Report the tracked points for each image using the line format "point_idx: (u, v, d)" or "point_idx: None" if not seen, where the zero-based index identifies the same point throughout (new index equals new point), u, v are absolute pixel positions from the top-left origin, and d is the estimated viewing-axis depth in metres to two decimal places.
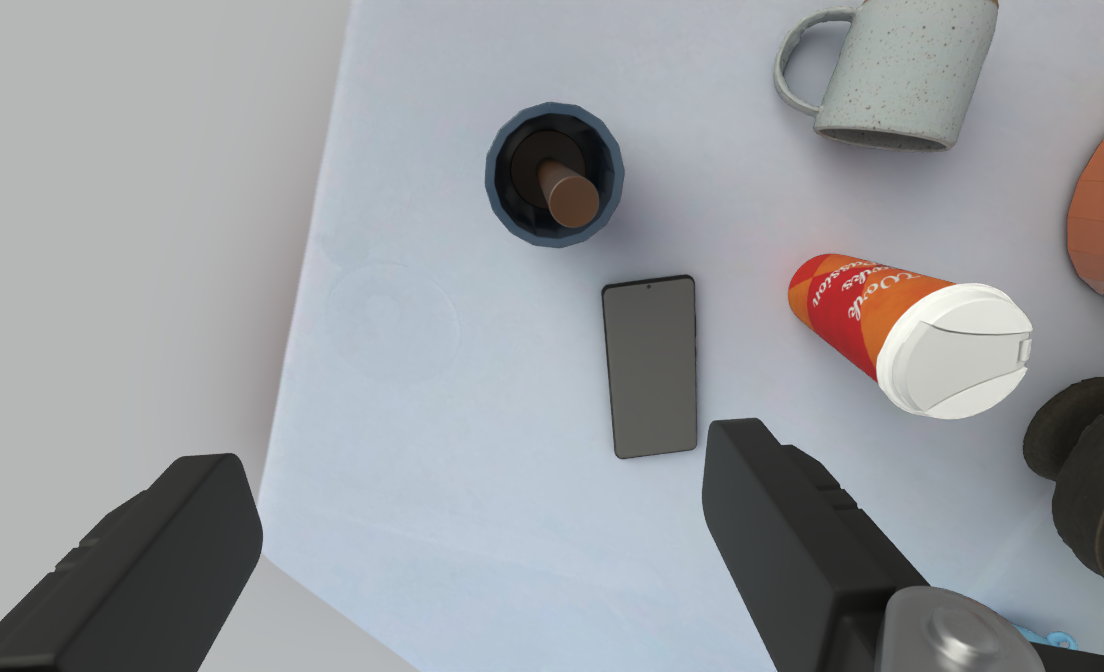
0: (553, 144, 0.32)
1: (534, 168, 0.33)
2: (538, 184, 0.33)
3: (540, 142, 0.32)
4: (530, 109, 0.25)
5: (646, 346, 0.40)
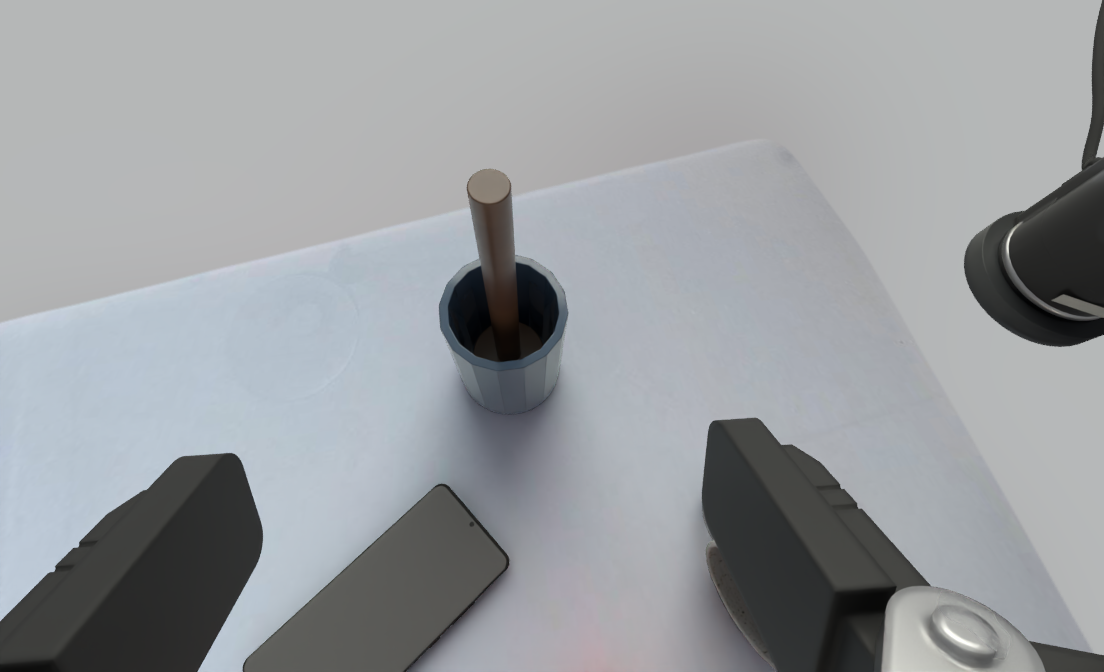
0: (530, 343, 0.36)
1: None
2: (493, 352, 0.35)
3: (524, 334, 0.36)
4: (537, 264, 0.30)
5: (408, 575, 0.32)
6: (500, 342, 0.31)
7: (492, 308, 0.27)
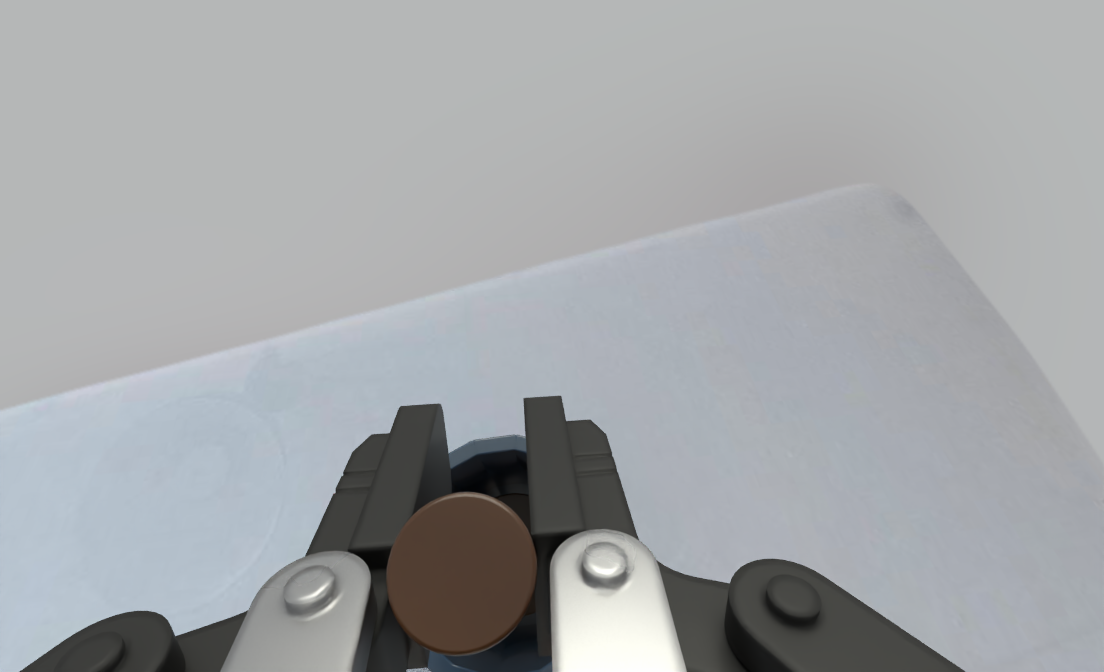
0: None
1: None
2: None
3: None
4: None
5: None
6: None
7: None
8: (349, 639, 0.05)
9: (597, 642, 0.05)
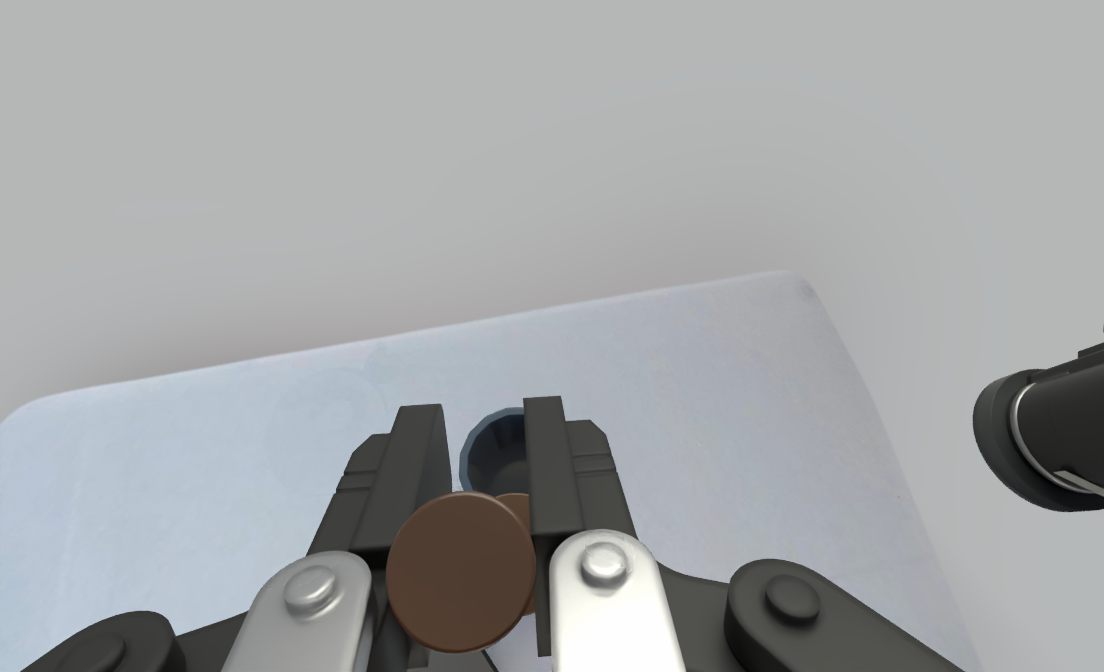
0: None
1: None
2: None
3: None
4: None
5: None
6: None
7: None
8: (349, 639, 0.05)
9: (597, 642, 0.05)
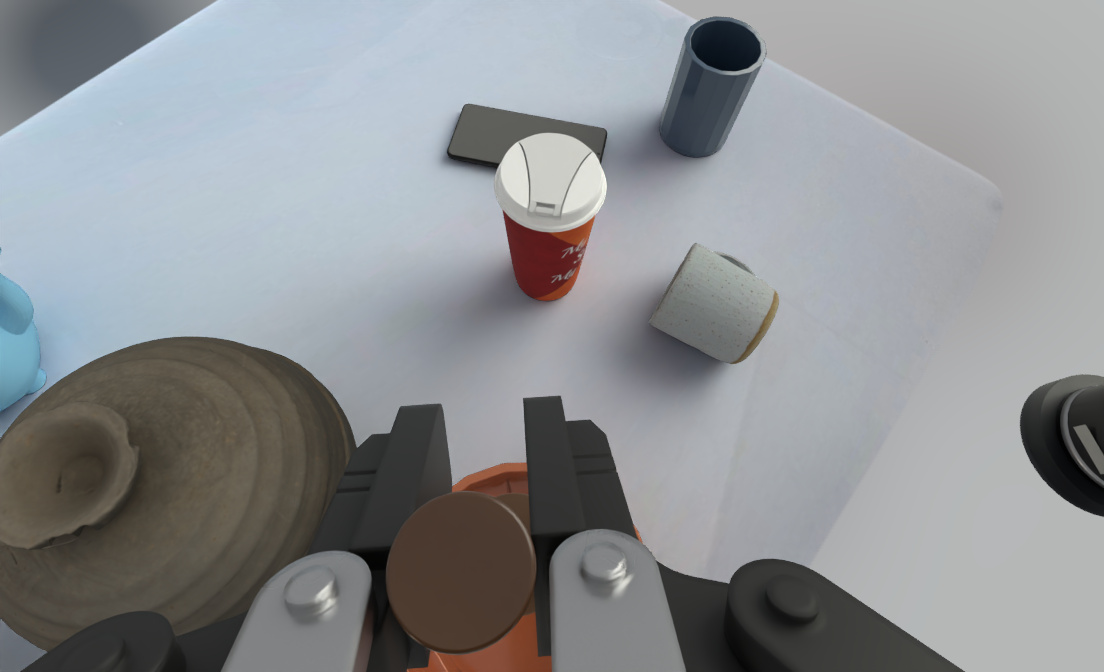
0: None
1: None
2: None
3: None
4: (764, 45, 0.45)
5: None
6: None
7: None
8: (349, 639, 0.05)
9: (596, 642, 0.05)
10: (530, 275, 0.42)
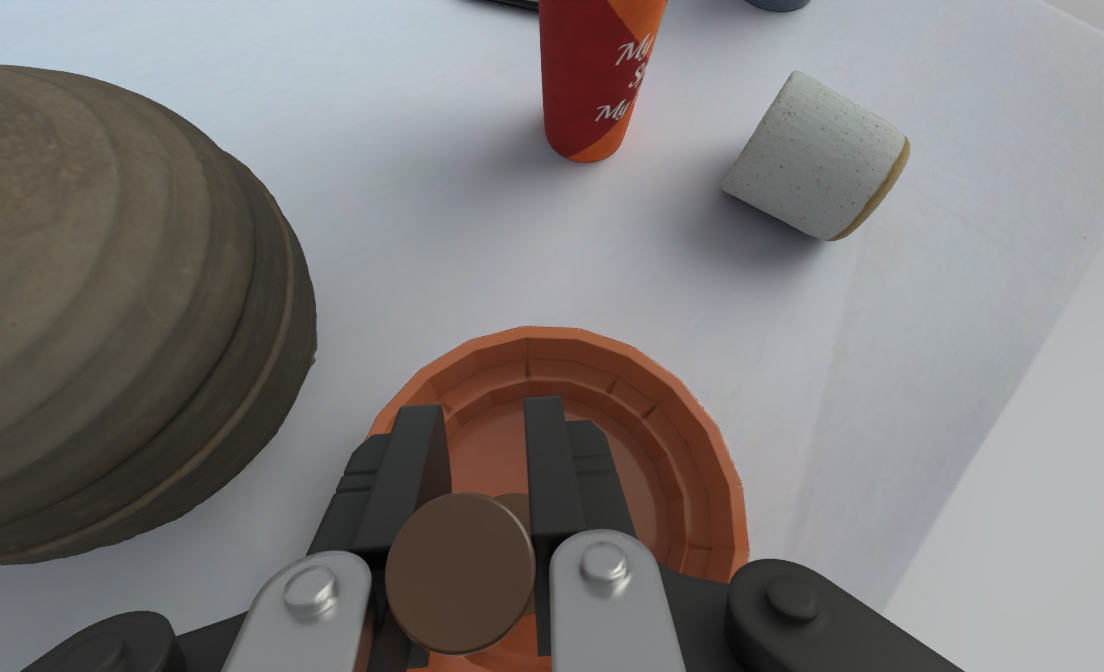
0: None
1: None
2: None
3: None
4: None
5: None
6: None
7: None
8: (350, 639, 0.05)
9: (597, 642, 0.05)
10: (568, 105, 0.31)
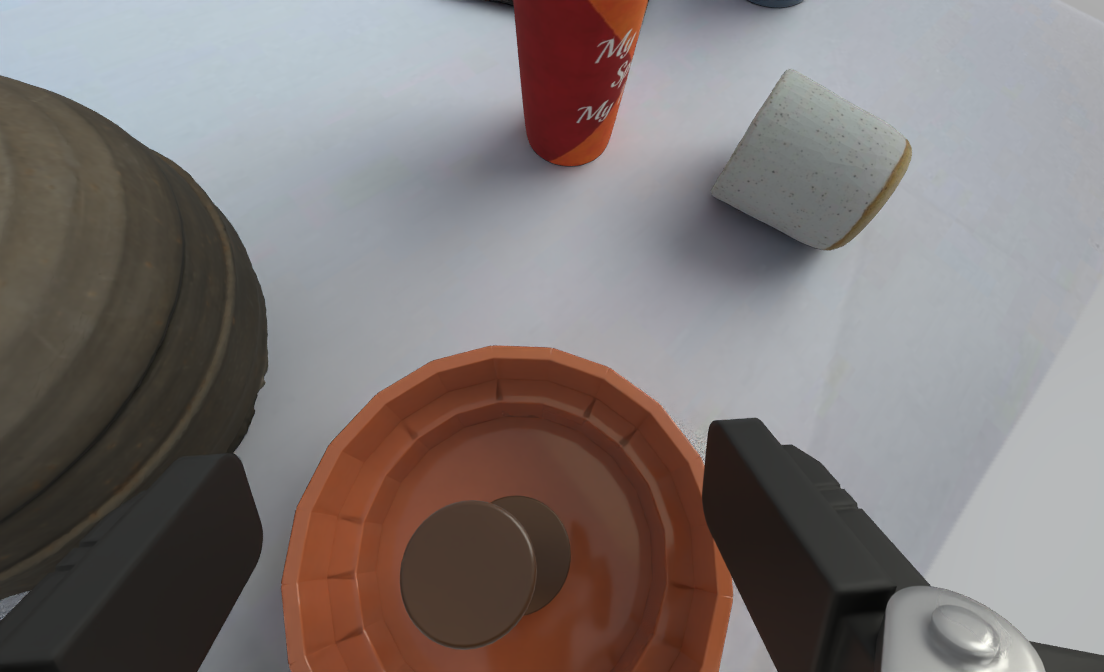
0: (548, 536, 0.23)
1: None
2: None
3: (539, 519, 0.23)
4: None
5: None
6: None
7: None
8: None
9: None
10: (547, 106, 0.29)
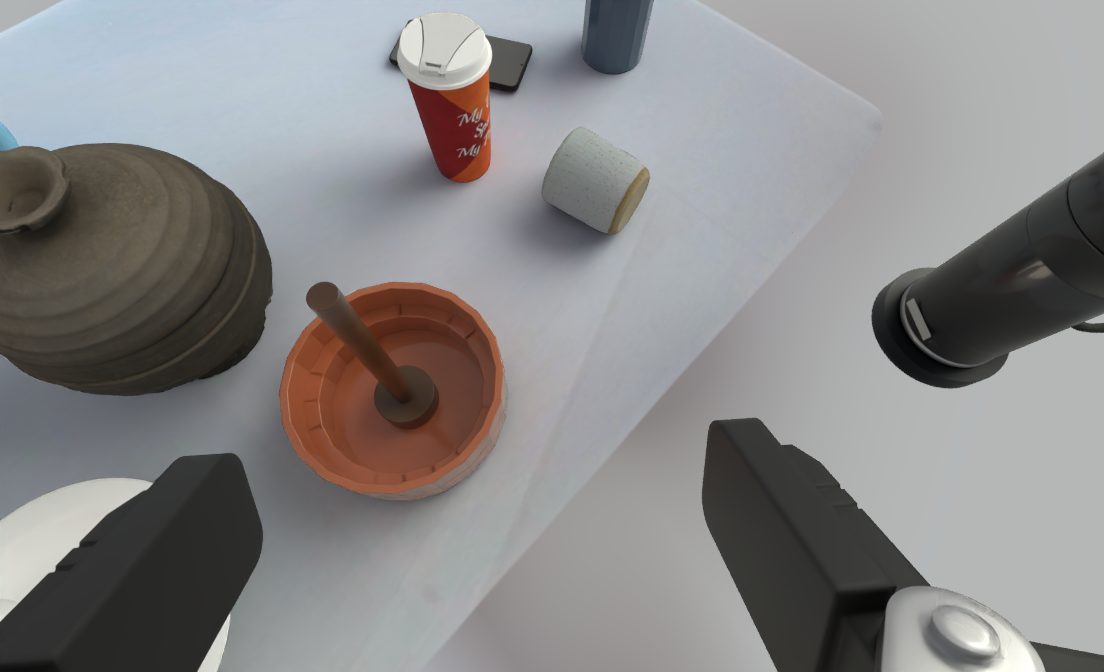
0: (422, 385, 0.42)
1: None
2: (390, 393, 0.42)
3: (418, 376, 0.43)
4: None
5: None
6: (386, 388, 0.38)
7: (366, 367, 0.34)
8: None
9: None
10: (439, 148, 0.49)
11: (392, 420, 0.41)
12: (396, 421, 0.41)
